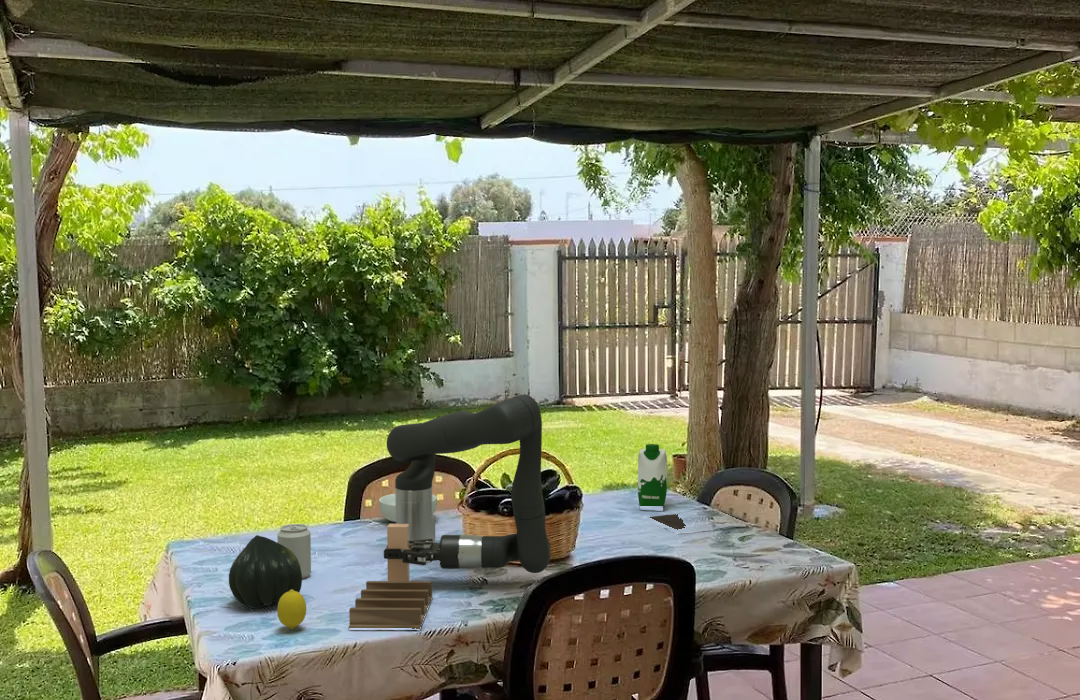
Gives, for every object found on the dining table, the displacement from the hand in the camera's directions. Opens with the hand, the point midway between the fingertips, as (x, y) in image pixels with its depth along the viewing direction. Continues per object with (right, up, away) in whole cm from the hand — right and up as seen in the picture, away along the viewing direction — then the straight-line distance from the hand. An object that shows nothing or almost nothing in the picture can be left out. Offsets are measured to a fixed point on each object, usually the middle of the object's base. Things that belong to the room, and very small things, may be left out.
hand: (385, 551), depth 217 cm
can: (-23, -8, +8) cm, 25 cm away
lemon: (-14, -10, -27) cm, 32 cm away
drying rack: (+4, -9, -18) cm, 20 cm away
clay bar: (+3, -8, 0) cm, 8 cm away
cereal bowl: (-3, -5, +61) cm, 61 cm away
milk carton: (+69, -3, +78) cm, 104 cm away
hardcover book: (+80, -5, +58) cm, 99 cm away
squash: (-24, -9, -11) cm, 28 cm away
